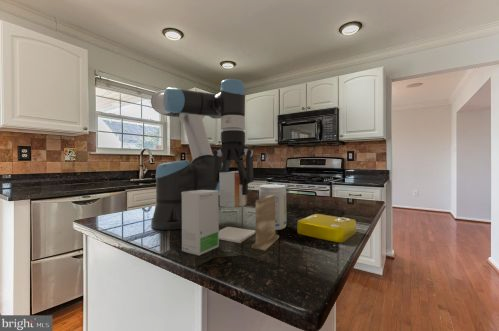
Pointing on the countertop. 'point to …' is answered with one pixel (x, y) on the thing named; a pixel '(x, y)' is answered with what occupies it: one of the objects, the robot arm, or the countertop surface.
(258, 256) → the countertop surface
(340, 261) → the countertop surface
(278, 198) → the supplement tub
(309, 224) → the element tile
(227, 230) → the cream pad
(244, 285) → the countertop surface
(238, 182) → the small box
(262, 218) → the oak screen
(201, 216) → the skincare box
